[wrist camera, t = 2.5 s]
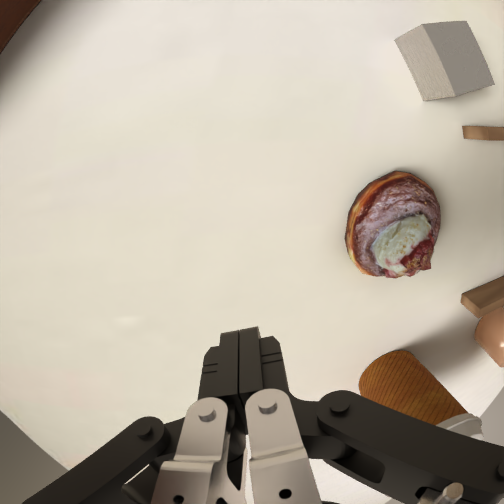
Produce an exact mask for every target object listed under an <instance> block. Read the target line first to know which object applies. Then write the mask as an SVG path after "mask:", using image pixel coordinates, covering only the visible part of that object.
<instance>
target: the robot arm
mask: <svg viewBox="0 0 504 504" xmlns="http://www.w3.org/2000/svg"><path fill="white" fill-rule="evenodd" d="M248 434H249V441H250V449H251V459H250V460H249V468H250V476H251V483H252V490H253V498H254V504H339V503H334V502H328V501H321V499H320V495H319V492H318V489H317V485H316V482H315V479H314V476H313V472H312V469H311V466H310V462H309V459H308V458H311V459H323V460H324V461H325V462H326V463H327V464H329V465H330V466H332V467H334V468H336V469H337V470H339V471H341V472H343V473H344V474H346V475H348V476H350V477H352V478H353V479H355V480H357V481H359V482H361V483H363V484H365V485H367V486H369V487H371V488H373V489H375V490H377V491H379V492H381V493H383V494H385V495H387V496H389V497H391V498H393V499H396V500H398V501H400V502H403V503H405V504H498V503H499V501H500V500H501V499H502V498H504V447H503V446H499V445H495V444H492V443H488V442H485V441H482V440H478V439H475V438H472V437H469V436H465V435H462V434H459V433H456V432H453V431H450V430H447V429H444V428H441V427H438V426H436V425H433V424H430V423H427V422H425V421H422V420H419V419H417V418H414V417H411V416H409V415H406V414H404V413H401V412H399V411H396V410H394V409H391V408H389V407H386V406H384V405H381V404H379V403H377V402H374V401H372V400H370V399H367V398H365V397H363V396H360V395H358V394H356V393H354V392H351V391H346V390H339V391H334V392H331V393H329V394H327V395H325V396H324V397H322V398H321V400H320V401H304V400H300V399H297V398H296V397H294V396H293V395H292V394H291V393H290V392H289V387H288V382H287V377H286V371H285V366H284V362H283V357H282V352H281V347H280V343H279V342H278V341H277V340H276V339H275V338H274V337H273V336H270V337H265V338H261V336H260V332H259V329H258V326H257V327H252V328H247V329H242V330H240V331H239V330H237V331H231V332H226V333H221V335H220V345H219V346H215V347H210V349H209V350H208V352H207V353H206V354H205V356H204V361H203V368H202V374H201V381H200V387H199V394H198V401H196V402H195V403H193V404H192V405H191V406H190V407H189V409H188V410H187V413H186V416H185V417H184V418H182V419H179V420H176V421H173V422H170V423H166V424H163V423H162V421H161V420H160V419H158V418H156V417H150V416H148V417H143V418H140V419H138V420H136V421H135V422H133V423H132V424H131V425H129V426H128V427H127V428H126V429H124V430H123V431H122V432H121V433H119V434H118V435H117V436H115V437H114V438H113V439H111V440H110V441H109V442H108V443H106V444H105V445H104V446H102V447H101V448H100V449H98V450H97V451H96V452H94V453H93V454H92V455H90V456H89V457H88V458H86V459H85V460H83V461H82V462H81V463H79V464H78V465H77V466H75V467H74V468H72V469H71V470H70V471H68V472H67V473H65V474H64V475H62V476H61V477H60V478H59V479H57V480H55V481H54V482H52V483H51V484H49V485H48V486H46V487H45V488H43V489H42V490H40V491H39V492H37V493H36V494H34V495H33V496H31V497H30V498H28V499H27V500H25V501H24V502H23V503H22V504H247V502H246V498H245V482H246V468H247V448H246V435H248ZM148 464H149V466H148V467H147V468H146V469H144V470H143V471H142V472H141V473H140V474H138V475H137V476H136V477H135V478H133V479H132V480H131V481H130V482H128V483H127V484H125V483H126V482H127V481H128V480H129V479H131V478H132V477H133V476H134V475H136V474H137V473H138V472H139V471H141V470H142V469H143V468H144V467H145V466H147V465H148Z"/></svg>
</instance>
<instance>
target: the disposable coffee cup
mask: <svg viewBox="0 0 504 504" xmlns="http://www.w3.org/2000/svg"><path fill="white" fill-rule="evenodd" d="M359 390H360V394H361V396H363V397H365V398H367V399H370V400H372V401H374V402H377V403H379V404H381V405H384V406H386V407H389V408H391V409H394V410H396V411H399V412H401V413H404V414H406V415H409V416H411V417H414V418H417V419H419V420H422V421H425V422H427V423H430V424H433V425H436V426H438V427H441V428H444V429H447V430H450V431H453V432H456V433H459V434H462V435H465V436H469V437H472V438H475V439H478V440H482V441H483V437H484V436H483V433H482V430H481V425H482V421H481V419H480V418H478V417H477V416H476V417H475V416H474V415H472V414H470V413H468V412H467V411H466V410H465V409H464V408H463V407H462V406H461V404H460V403H459V402H458V401H457V400H456V399H455V398H454V397H453V396H452V395H451V394H450V393H449V392H448V391H447V389H446V388H445V387H444V386H443V385H442V384H441V383H440V382H439V381H438V380H437V379H436V378H435V377H434V376H433V375H432V374H431V373H430V372H429V371H428V370H427V369H426V368H425V367H424V366H423V365H422V364H421V363H420V362H419V361H418V360H417V359H416V358H415V357H414V356H413V354H411V353H410V352H408V351H403V350H402V351H394V352H390V353H388V354H385V355H383V356H381V357H380V358H378V359H377V360H375V361H374V362H373V363H372V364H370V365H369V366H368V367H367V369H366V370H365V371H364V372H363V374H362V375H361V378H360V380H359ZM386 496H387V495H386ZM387 497H389V496H387Z"/></svg>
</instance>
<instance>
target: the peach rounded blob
mask: <svg viewBox="0 0 504 504" xmlns="http://www.w3.org/2000/svg"><path fill="white" fill-rule="evenodd" d="M475 340H476V342H477V343H478V344H479V345H480V346H481V347H482V348H483V349H484V350H485V351H486V352H487V353H488V354H489V356H490V357H491V358H492V359H493V360H494V361H495V362H496V363H497V364H498V365H499V367H504V308H503V307H500V308H498V309H496V310H494V311H492V312H490V313H488V314H486V315H484V316H483V317H482V318H481V320H480V321H479V323H478V325H477V328H476V330H475Z"/></svg>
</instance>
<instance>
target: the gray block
mask: <svg viewBox="0 0 504 504" xmlns="http://www.w3.org/2000/svg"><path fill="white" fill-rule="evenodd" d="M394 41H395V42H396V44H397V46H398V48H399V50H400V52H401V54H402V56H403V58H404V60H405V62H406V64H407V66H408V68H409V70H410V72H411V74H412V76H413V78H414V81H415V83H416V85H417V87H418V90H419V92H420V94H421V97H422V99H423V101H426V100H433V99H439V98H446V97H454V96H458V95H461V94H464V93H467V92H471V91H474V90H477V89H481V88H484V87H488V86H491V85H495V84H494V81H493V78H492V76H491V73H490V71H489V68H488V66H487V63H486V61H485V59H484V56H483V54H482V52H481V50H480V47H479V45H478V43H477V41H476V39H475V37H474V35H473V33H472V31H471V29H470V27H469V25H468V23H467V21H452V22H439V23H429V24H421V25H420V26H418V27H416V28H414V29H412V30H411V31H409V32H407V33H405V34H404V35H402V36H400V37H398V38H397V39H395V40H394Z"/></svg>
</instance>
